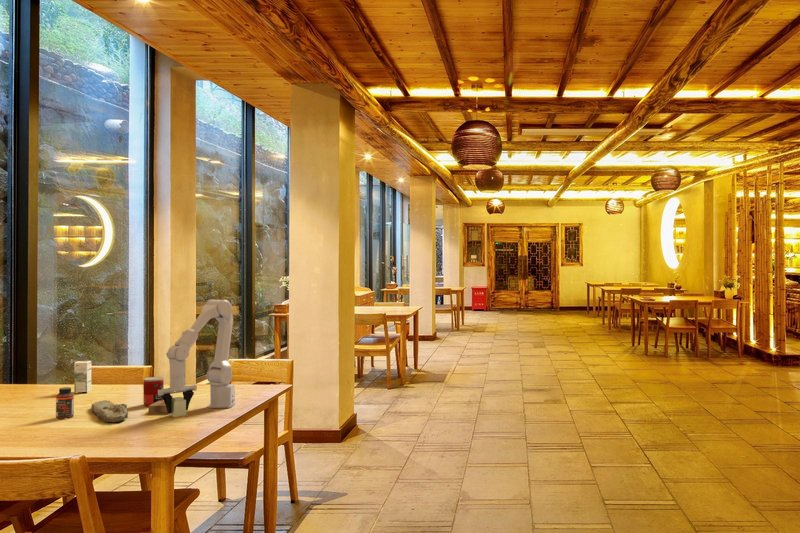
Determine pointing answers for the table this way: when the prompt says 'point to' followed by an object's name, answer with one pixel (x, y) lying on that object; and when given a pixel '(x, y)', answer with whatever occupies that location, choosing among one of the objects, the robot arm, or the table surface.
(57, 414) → the supplement bottle
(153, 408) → the walnut box
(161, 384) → the canned food
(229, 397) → the robot arm
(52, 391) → the table surface
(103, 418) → the long grey stone
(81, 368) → the syrup box
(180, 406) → the cream cube with panel
